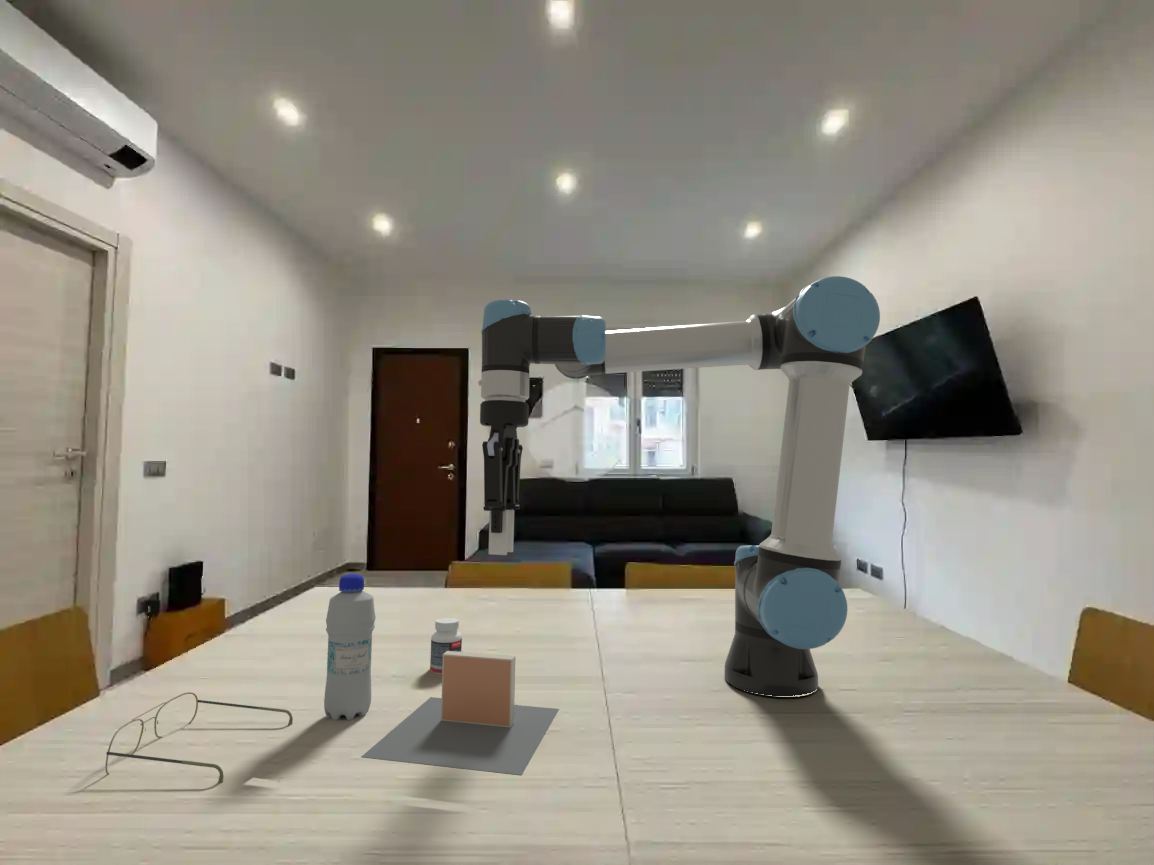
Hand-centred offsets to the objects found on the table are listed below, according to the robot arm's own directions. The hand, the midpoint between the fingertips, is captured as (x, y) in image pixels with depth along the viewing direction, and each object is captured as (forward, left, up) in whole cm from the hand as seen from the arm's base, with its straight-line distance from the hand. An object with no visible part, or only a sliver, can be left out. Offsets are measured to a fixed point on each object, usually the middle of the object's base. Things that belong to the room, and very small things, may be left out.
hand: (501, 552), depth 96 cm
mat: (0, +12, -23) cm, 26 cm away
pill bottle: (+13, -11, -23) cm, 28 cm away
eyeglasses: (+31, +23, -23) cm, 45 cm away
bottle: (+19, +10, -23) cm, 31 cm away
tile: (0, +9, -22) cm, 24 cm away
